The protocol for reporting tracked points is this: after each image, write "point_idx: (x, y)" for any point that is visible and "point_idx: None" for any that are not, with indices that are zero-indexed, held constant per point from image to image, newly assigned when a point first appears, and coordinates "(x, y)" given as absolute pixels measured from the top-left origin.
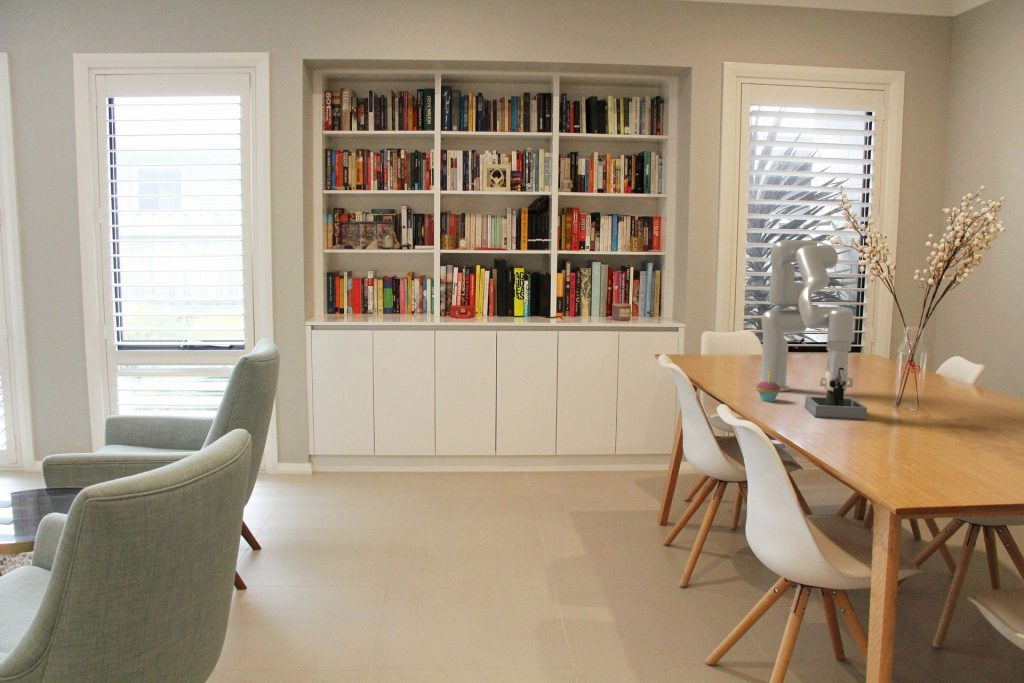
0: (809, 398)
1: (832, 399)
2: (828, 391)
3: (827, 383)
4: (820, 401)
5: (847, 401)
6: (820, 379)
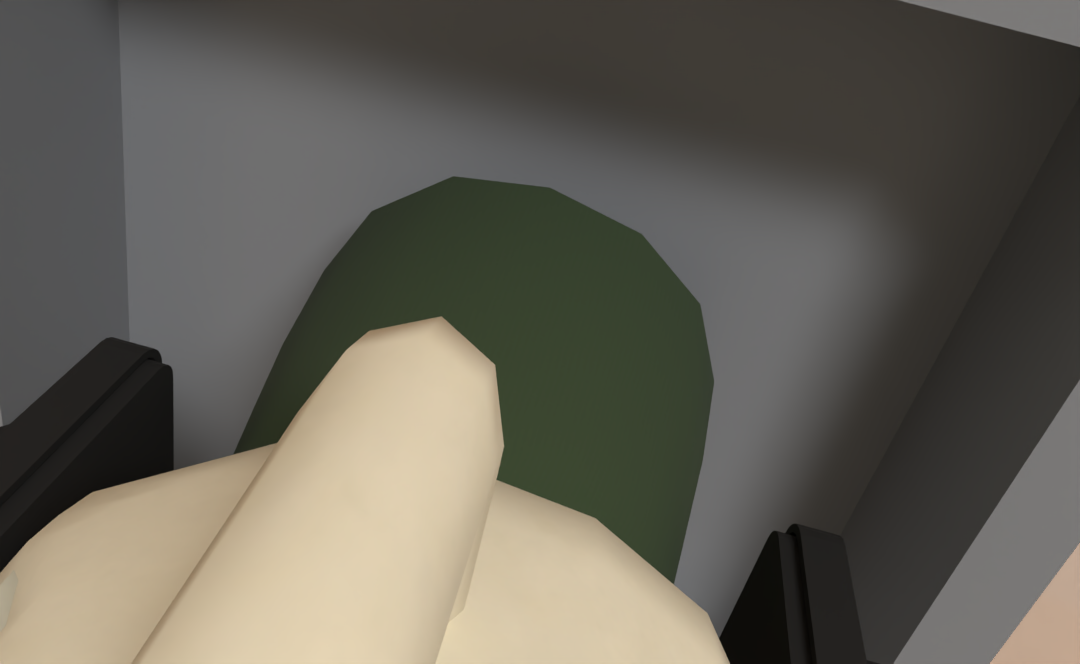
0: None
1: (285, 371)
2: (778, 607)
3: (50, 649)
4: (1034, 339)
5: None
6: (167, 613)
